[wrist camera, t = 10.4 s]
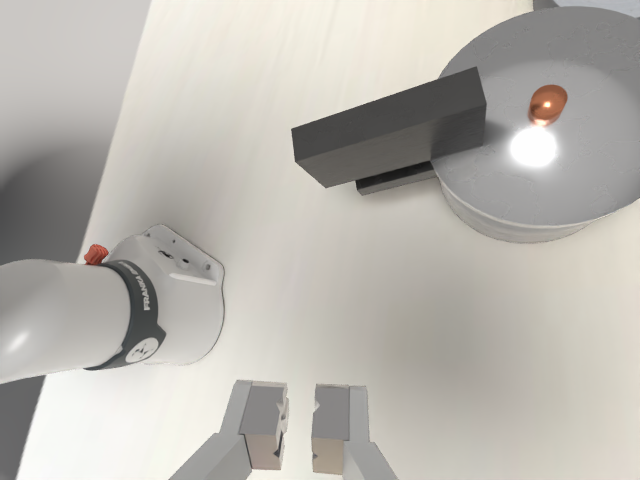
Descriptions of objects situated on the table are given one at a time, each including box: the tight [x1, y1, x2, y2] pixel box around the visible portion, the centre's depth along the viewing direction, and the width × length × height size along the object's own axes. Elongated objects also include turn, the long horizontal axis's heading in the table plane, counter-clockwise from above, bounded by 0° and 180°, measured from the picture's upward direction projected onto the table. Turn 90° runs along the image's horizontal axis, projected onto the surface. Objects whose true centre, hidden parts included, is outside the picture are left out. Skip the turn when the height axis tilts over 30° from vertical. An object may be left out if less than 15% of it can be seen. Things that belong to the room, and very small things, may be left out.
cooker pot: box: [355, 160, 593, 243], centre depth 36 cm, size 31×18×10 cm, turn 99°
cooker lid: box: [291, 6, 640, 229], centre depth 29 cm, size 29×19×8 cm, turn 99°
